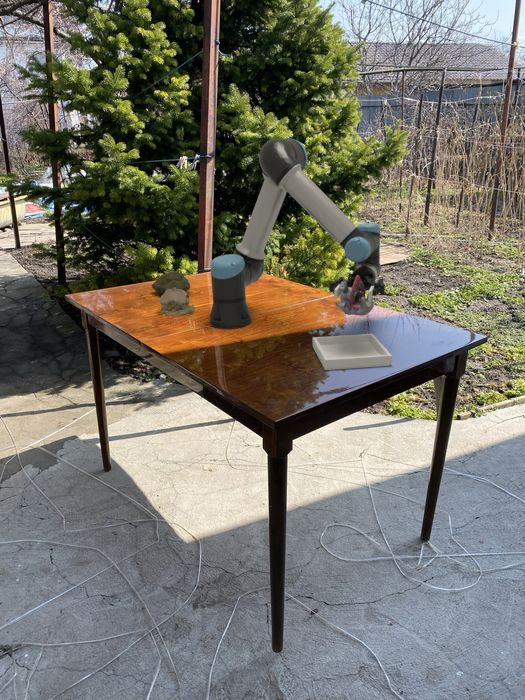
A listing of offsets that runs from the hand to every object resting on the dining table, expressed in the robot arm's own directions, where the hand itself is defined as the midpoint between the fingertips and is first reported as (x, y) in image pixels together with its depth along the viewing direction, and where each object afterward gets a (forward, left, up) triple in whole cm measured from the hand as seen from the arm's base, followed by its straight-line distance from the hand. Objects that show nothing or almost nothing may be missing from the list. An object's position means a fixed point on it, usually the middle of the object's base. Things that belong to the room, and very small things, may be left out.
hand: (352, 295), depth 150 cm
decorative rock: (-58, +85, -19) cm, 105 cm away
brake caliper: (+2, +5, -7) cm, 9 cm away
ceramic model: (-54, +56, -19) cm, 80 cm away
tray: (0, 0, -19) cm, 19 cm away
